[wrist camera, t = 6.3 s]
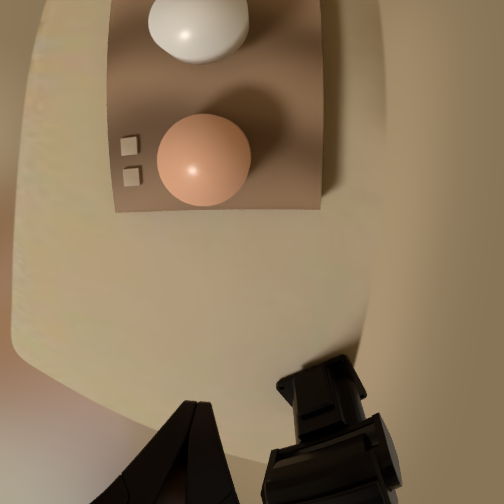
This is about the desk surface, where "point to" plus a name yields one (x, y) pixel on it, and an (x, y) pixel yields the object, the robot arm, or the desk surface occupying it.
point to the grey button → (199, 28)
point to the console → (220, 105)
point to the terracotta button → (204, 159)
